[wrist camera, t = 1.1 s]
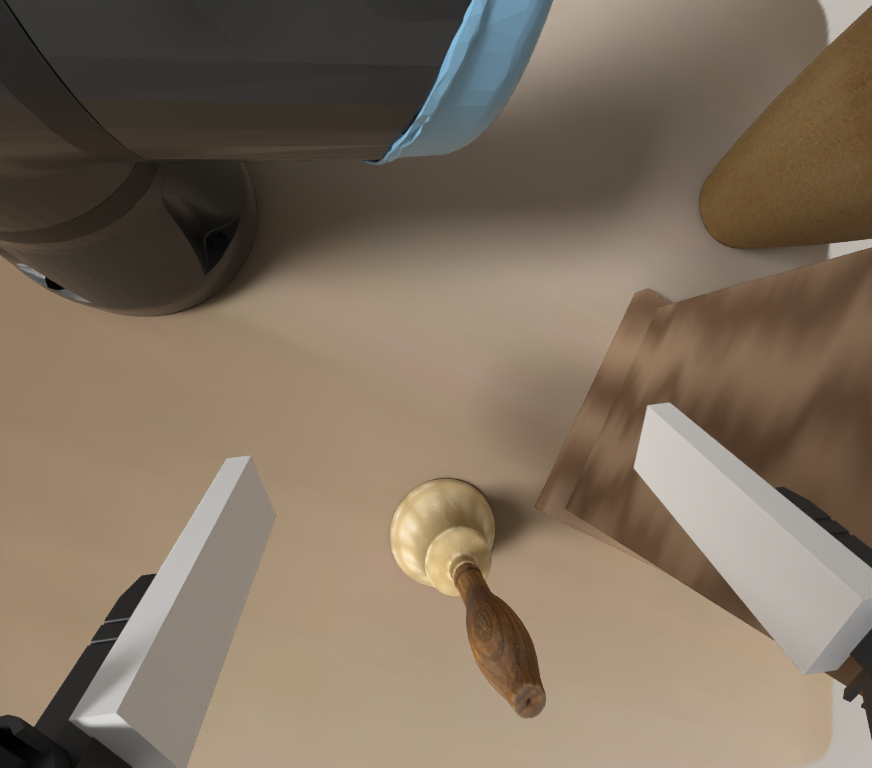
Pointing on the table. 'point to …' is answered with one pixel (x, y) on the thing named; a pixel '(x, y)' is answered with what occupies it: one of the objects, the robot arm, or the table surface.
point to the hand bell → (468, 582)
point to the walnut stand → (731, 411)
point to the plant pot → (803, 158)
